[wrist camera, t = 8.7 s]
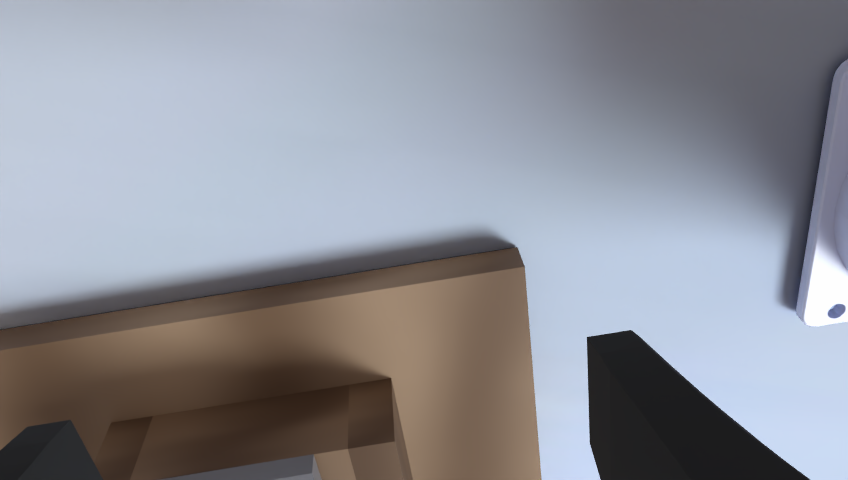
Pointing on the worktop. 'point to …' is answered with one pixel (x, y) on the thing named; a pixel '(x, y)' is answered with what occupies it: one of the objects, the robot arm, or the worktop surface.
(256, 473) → the servo block
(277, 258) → the worktop surface
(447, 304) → the dock
